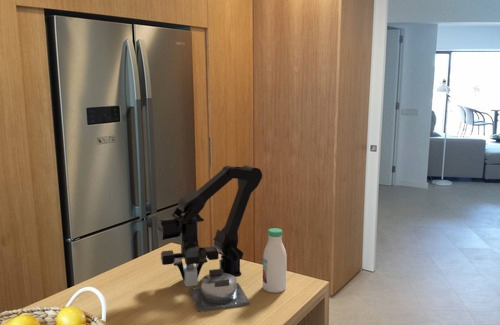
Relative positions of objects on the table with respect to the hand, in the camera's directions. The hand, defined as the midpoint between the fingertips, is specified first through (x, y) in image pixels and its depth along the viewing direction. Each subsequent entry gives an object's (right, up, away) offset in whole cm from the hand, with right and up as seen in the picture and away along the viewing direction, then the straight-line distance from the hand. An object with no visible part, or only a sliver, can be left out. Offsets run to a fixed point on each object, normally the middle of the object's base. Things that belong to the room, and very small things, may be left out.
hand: (190, 279), depth 156 cm
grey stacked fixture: (+11, -3, -11) cm, 16 cm away
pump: (0, -1, 0) cm, 1 cm away
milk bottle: (+28, -2, -4) cm, 29 cm away
